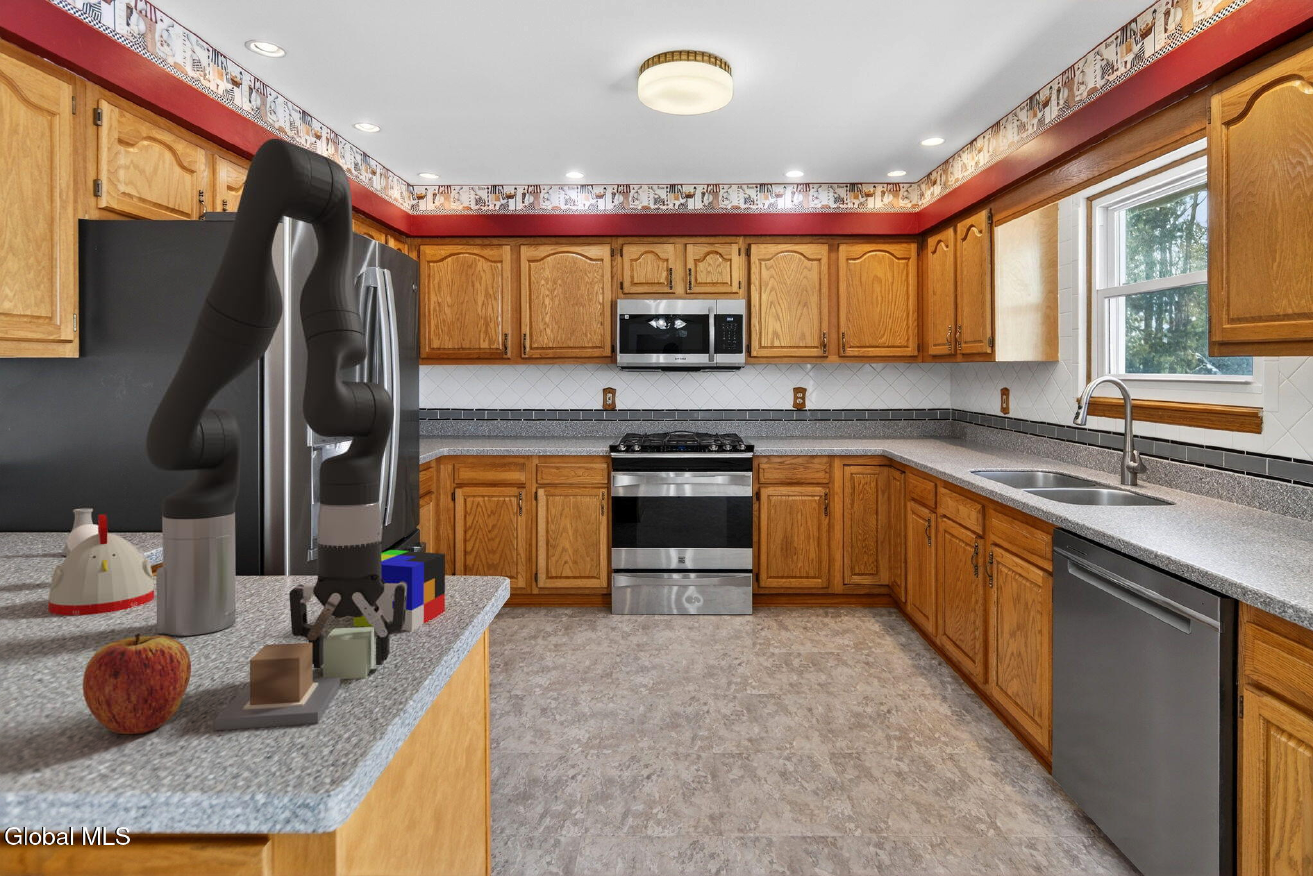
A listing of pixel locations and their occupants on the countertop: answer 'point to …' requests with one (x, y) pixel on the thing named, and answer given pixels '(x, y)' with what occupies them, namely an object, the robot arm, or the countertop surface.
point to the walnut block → (280, 673)
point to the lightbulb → (81, 535)
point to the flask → (79, 523)
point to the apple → (137, 683)
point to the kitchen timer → (101, 576)
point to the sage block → (348, 653)
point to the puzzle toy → (413, 586)
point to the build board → (279, 708)
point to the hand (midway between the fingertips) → (350, 664)
